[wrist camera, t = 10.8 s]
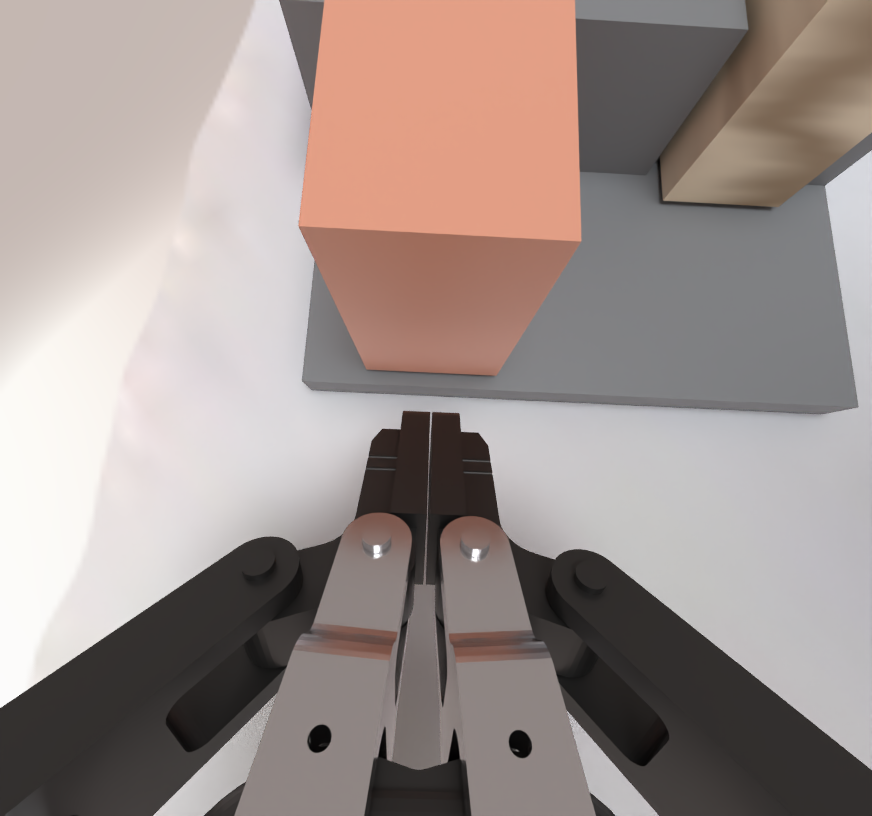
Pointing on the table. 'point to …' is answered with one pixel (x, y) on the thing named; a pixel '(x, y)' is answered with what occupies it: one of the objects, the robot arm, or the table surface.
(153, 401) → the table surface
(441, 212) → the terracotta plug
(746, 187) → the ash plug
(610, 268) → the grey slotted tray
